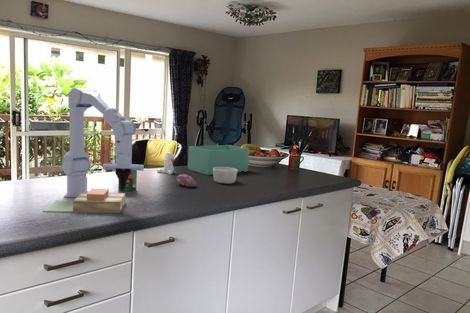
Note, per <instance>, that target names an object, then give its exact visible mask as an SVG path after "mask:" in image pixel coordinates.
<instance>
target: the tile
mask: <svg viewBox="0 0 470 313" xmlns="http://www.w3.org/2000/svg"><path fill="white" fill-rule="evenodd" d="M109 190H110V189H109V188H91V189H90V190H88V191H89V192H88V193H87V200H104V199H105V198H106V197H107V195H108V194H109V193H110V192H109Z"/></svg>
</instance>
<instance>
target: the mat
mask: <svg viewBox="0 0 470 313" xmlns="http://www.w3.org/2000/svg"><path fill="white" fill-rule="evenodd" d="M73 201H74V200H64V199H63V200H62V199H56V200H54V202H52V203H51V204H49V206H47V207H46V208H44V209H43V210H42V213H74V212H73Z"/></svg>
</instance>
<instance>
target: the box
mask: <svg viewBox="0 0 470 313" xmlns="http://www.w3.org/2000/svg"><path fill="white" fill-rule="evenodd" d="M187 155H188V156H187V157H188V158H187V170H190V171H193V172H197V173H200V174H204V175H209V176H210V175H213V168H215V167H229V168H235V169H237V170H238V172H237V173H242V172H241V171H244V172H248V171H249V158H250V148H247V147H241V146H236V145H230V144H223V145H191V146H190V145H189V146H188V154H187Z"/></svg>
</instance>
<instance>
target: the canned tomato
mask: <svg viewBox="0 0 470 313" xmlns="http://www.w3.org/2000/svg"><path fill="white" fill-rule="evenodd" d="M137 179H138V170H131V173H130V175H129V177H128V180H127V183H126V188H125V190H121V186H120V182H119V181H118V185H117V188H118V189H117V190H118V193H123V192H124V193H125V194H129V193H130V192H131V193H136V191H137Z"/></svg>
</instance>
